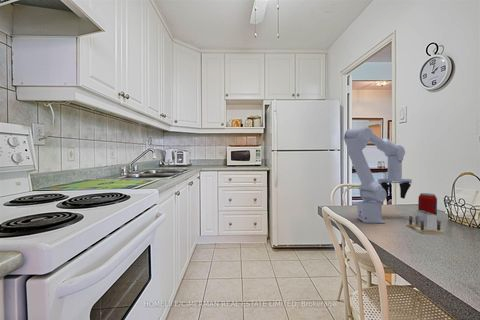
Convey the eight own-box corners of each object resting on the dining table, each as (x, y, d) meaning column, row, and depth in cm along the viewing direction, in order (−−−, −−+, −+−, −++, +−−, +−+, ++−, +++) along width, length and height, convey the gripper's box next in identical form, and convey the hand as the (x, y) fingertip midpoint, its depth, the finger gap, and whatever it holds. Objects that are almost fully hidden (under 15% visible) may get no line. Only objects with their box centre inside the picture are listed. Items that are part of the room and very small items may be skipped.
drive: (436, 230, 90) (436, 215, 90) (426, 230, 90) (427, 214, 90) (422, 224, 98) (422, 210, 98) (413, 224, 98) (413, 209, 98)
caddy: (444, 234, 89) (444, 222, 89) (422, 233, 90) (422, 222, 90) (425, 225, 99) (425, 215, 99) (405, 225, 100) (406, 215, 100)
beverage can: (440, 221, 105) (441, 195, 105) (425, 221, 105) (425, 195, 105) (428, 217, 112) (429, 192, 111) (414, 217, 112) (414, 192, 112)
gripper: (383, 170, 109) (383, 199, 109) (416, 170, 108) (415, 199, 108) (375, 169, 116) (375, 196, 116) (406, 169, 115) (406, 196, 115)
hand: (394, 198), depth 113 cm, fingers open, 7 cm apart
